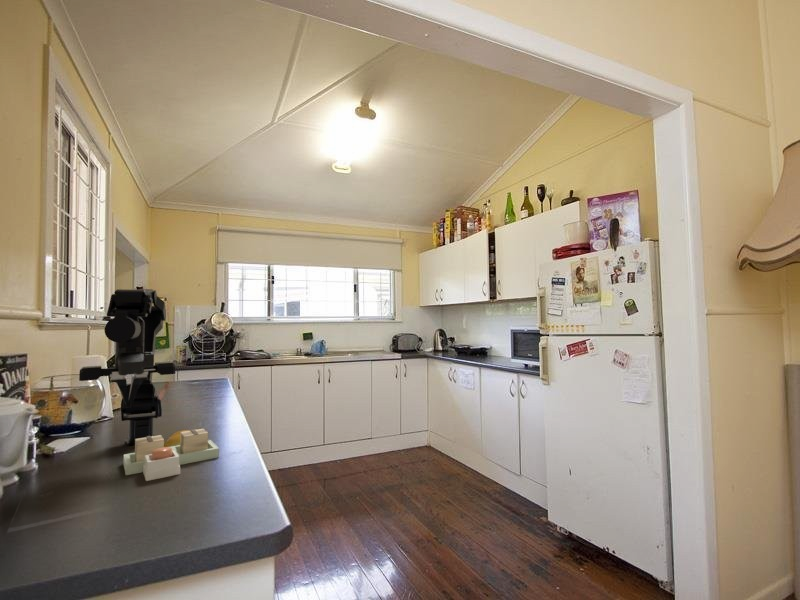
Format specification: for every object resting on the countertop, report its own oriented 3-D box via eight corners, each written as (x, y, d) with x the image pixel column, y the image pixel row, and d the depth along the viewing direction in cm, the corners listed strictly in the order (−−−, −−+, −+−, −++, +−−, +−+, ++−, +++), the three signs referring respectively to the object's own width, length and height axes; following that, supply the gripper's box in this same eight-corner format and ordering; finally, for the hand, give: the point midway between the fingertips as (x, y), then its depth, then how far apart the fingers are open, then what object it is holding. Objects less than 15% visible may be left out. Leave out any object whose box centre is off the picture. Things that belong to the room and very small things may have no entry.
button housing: (143, 474, 85) (143, 455, 85) (175, 468, 88) (175, 449, 89) (146, 483, 80) (146, 462, 80) (180, 476, 84) (180, 456, 84)
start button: (150, 459, 85) (151, 449, 85) (170, 455, 87) (170, 446, 87) (152, 463, 82) (153, 453, 82) (173, 459, 84) (173, 450, 84)
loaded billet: (134, 464, 90) (135, 438, 91) (160, 459, 93) (161, 434, 94) (136, 470, 86) (137, 442, 87) (163, 465, 89) (164, 438, 90)
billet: (180, 455, 96) (180, 431, 96) (203, 451, 99) (203, 427, 99) (183, 461, 92) (184, 435, 92) (207, 456, 95) (208, 431, 95)
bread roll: (160, 454, 99) (160, 437, 100) (170, 444, 108) (170, 429, 108) (197, 451, 102) (197, 434, 102) (204, 441, 110) (204, 426, 111)
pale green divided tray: (123, 466, 91) (123, 454, 91) (210, 450, 101) (210, 439, 102) (125, 477, 83) (126, 465, 84) (219, 459, 94) (219, 448, 94)
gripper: (79, 343, 85) (77, 419, 84) (179, 340, 97) (178, 407, 96) (81, 342, 94) (78, 410, 93) (172, 339, 105) (171, 400, 104)
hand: (128, 407), depth 96 cm, fingers closed
